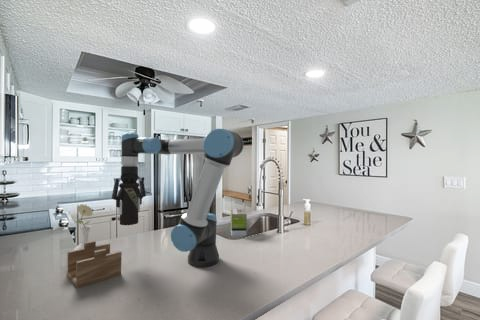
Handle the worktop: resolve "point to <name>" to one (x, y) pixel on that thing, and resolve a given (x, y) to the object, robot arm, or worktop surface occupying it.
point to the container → (129, 203)
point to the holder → (93, 264)
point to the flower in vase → (85, 229)
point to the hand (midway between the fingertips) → (129, 212)
